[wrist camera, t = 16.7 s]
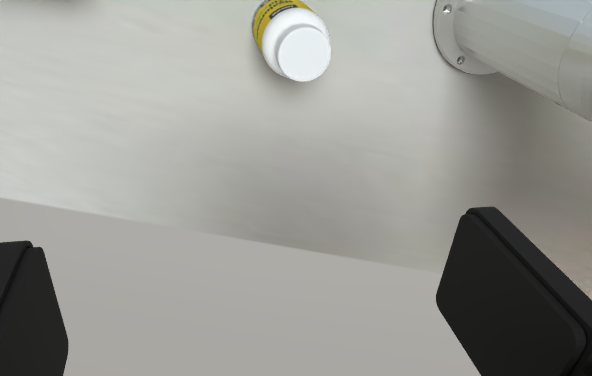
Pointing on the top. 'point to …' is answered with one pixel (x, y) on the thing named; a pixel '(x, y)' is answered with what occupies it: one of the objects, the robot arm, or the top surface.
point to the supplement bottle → (292, 39)
